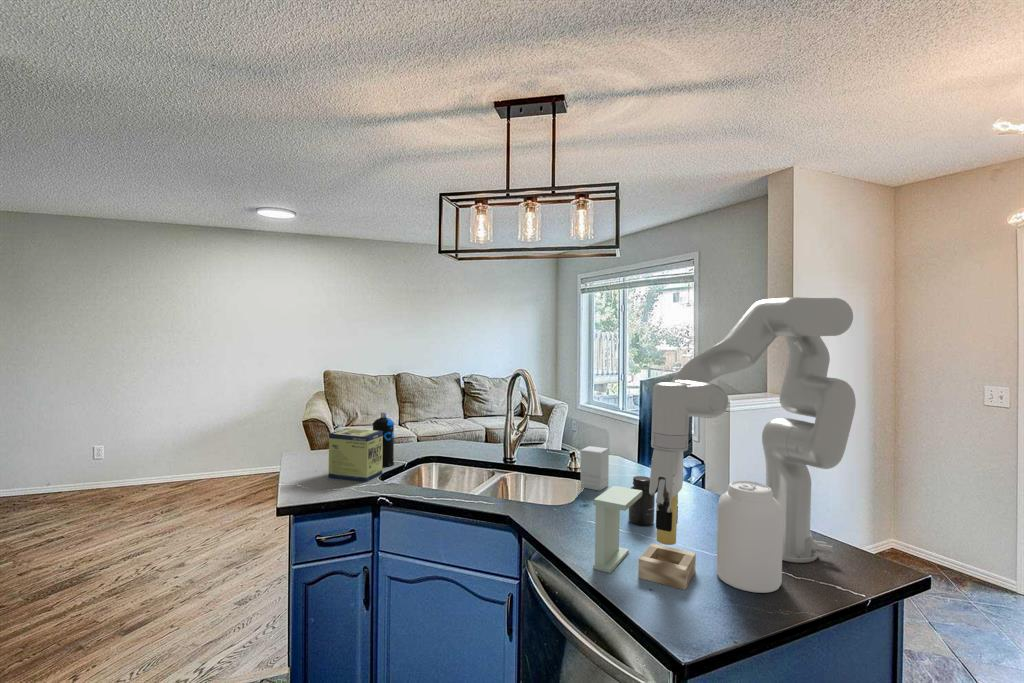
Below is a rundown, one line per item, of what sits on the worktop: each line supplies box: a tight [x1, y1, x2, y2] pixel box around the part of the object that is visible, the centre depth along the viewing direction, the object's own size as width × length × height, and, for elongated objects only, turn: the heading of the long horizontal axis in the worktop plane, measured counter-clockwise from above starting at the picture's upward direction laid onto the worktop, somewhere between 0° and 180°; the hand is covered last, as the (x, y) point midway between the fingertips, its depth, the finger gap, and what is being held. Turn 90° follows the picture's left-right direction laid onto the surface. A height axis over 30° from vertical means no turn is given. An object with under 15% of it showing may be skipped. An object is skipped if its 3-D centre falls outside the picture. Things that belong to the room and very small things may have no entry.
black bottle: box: [372, 411, 395, 468], centre depth 196 cm, size 8×8×20 cm
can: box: [716, 480, 783, 594], centre depth 109 cm, size 12×12×20 cm
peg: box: [656, 492, 679, 546], centre depth 110 cm, size 4×4×12 cm
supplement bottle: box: [628, 475, 656, 527], centre depth 141 cm, size 7×7×12 cm
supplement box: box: [580, 445, 610, 492], centre depth 172 cm, size 7×7×13 cm
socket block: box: [637, 542, 697, 591], centre depth 110 cm, size 10×10×4 cm
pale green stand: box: [592, 485, 642, 574], centre depth 116 cm, size 7×12×15 cm, turn 149°
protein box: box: [328, 427, 383, 483], centre depth 181 cm, size 10×16×16 cm
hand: (666, 525), depth 110 cm, fingers closed on peg, 4 cm apart
